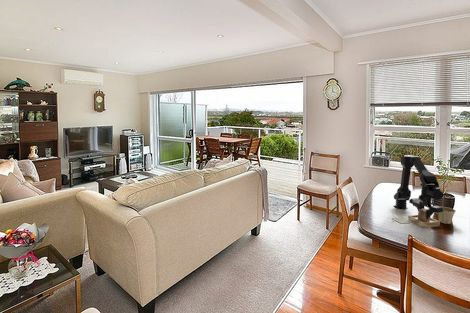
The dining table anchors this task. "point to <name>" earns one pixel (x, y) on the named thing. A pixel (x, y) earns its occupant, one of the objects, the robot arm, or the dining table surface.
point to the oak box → (424, 224)
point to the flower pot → (446, 215)
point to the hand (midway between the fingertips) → (423, 217)
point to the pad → (402, 220)
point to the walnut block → (422, 215)
